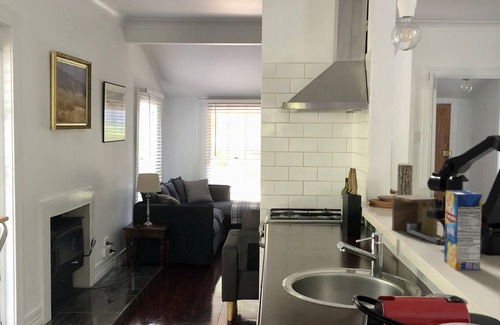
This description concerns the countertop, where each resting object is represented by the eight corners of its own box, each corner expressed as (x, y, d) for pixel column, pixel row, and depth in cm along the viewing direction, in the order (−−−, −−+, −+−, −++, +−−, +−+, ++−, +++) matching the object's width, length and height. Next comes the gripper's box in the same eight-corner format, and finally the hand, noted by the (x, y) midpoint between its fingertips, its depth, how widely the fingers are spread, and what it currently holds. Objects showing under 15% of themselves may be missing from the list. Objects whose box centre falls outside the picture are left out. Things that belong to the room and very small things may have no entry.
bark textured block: (393, 215, 259) (394, 163, 258) (404, 214, 262) (405, 163, 261) (403, 217, 253) (404, 164, 252) (414, 216, 256) (415, 164, 255)
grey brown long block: (465, 245, 191) (467, 222, 190) (443, 246, 188) (444, 224, 187) (427, 230, 213) (428, 210, 212) (406, 231, 210) (407, 211, 209)
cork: (437, 237, 205) (438, 208, 204) (420, 236, 206) (421, 208, 205) (434, 233, 211) (436, 206, 210) (418, 232, 212) (420, 205, 211)
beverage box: (455, 270, 156) (457, 194, 155) (444, 261, 167) (445, 190, 166) (480, 270, 155) (482, 194, 154) (466, 261, 166) (468, 190, 165)
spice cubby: (437, 234, 211) (437, 198, 210) (410, 235, 208) (411, 199, 207) (417, 228, 224) (417, 194, 223) (392, 229, 221) (392, 195, 220)
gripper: (462, 190, 202) (460, 231, 203) (418, 191, 197) (417, 234, 198) (482, 193, 191) (481, 237, 192) (436, 195, 186) (435, 240, 187)
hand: (453, 237), depth 192 cm, fingers closed on grey brown long block, 4 cm apart
